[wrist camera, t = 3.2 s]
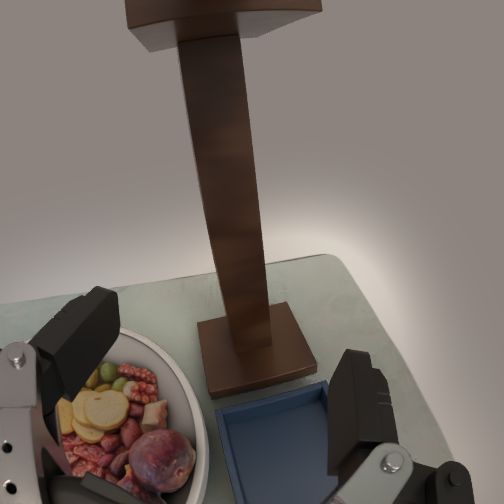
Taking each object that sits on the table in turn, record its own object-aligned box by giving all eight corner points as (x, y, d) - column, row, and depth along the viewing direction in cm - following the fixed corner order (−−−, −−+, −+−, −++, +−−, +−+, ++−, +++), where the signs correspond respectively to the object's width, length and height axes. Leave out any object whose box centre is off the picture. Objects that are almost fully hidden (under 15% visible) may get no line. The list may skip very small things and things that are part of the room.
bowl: (-36, 517, 10) (-84, 489, 6) (29, 344, 35) (2, 304, 31) (214, 621, 9) (184, 643, 4) (225, 350, 34) (212, 298, 29)
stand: (287, 309, 38) (264, 24, 21) (331, 402, 27) (349, -14, 9) (199, 330, 37) (131, 44, 19) (218, 433, 25) (87, 8, 8)
